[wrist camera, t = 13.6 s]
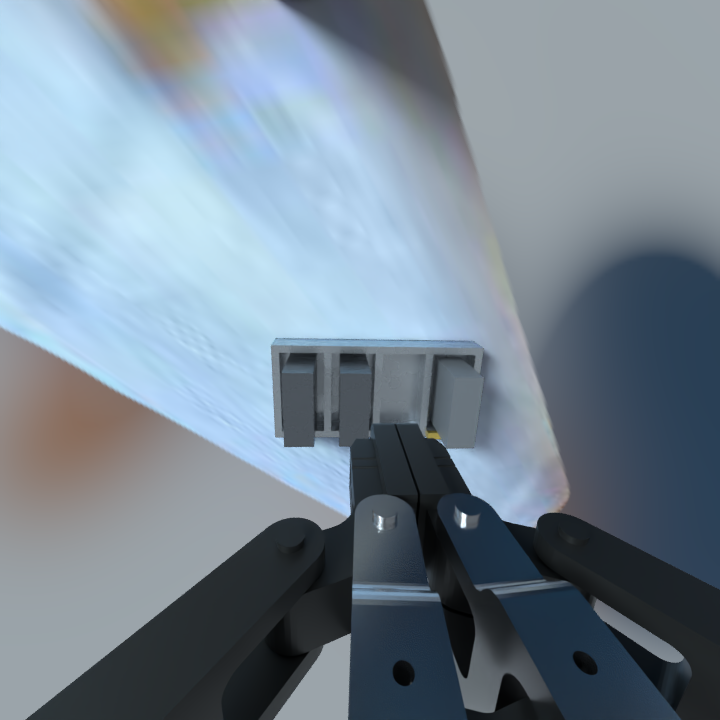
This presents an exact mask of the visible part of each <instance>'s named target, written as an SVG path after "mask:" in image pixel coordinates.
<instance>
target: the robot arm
mask: <svg viewBox="0 0 720 720" xmlns="http://www.w3.org/2000/svg"><path fill="white" fill-rule="evenodd" d="M349 490H350V507H351V515H350V516H349V517H348V518H347V519H346V520H345V521H344V522H342V523H341V524H339V525H337V526H335V527H332V528H329V529H325V530H321V528H320V527H319V526H318V525H317V524H316V523H314V522H312V521H310V520H308V519H304V518H287V519H283V520H281V521H278V522H276V523H274V524H272V525H271V526H269V527H268V528H266V529H265V530H264V531H263V532H261V533H260V534H259V535H258V536H256V537H255V538H254V539H252V540H251V541H250V542H249V543H247V544H246V545H245V546H244V547H242V548H241V549H240V550H239V551H237V552H236V553H235V554H234V555H232V556H231V557H230V558H229V559H227V560H226V561H225V562H224V563H222V564H221V565H220V566H219V567H217V568H216V569H215V570H213V571H212V572H211V573H210V574H209V575H207V576H206V577H205V578H203V579H202V580H201V581H200V582H198V583H197V584H196V585H195V586H193V587H192V588H191V589H189V590H188V591H187V592H186V593H185V594H184V595H182V596H181V597H180V598H178V599H177V600H176V601H174V602H173V603H172V604H171V605H169V606H168V607H167V608H166V609H164V610H163V611H162V612H161V613H159V614H158V615H157V616H155V617H154V618H153V619H152V620H150V621H149V622H148V623H147V624H146V625H144V626H143V627H142V628H141V629H139V630H138V631H137V632H135V633H134V634H133V635H132V636H130V637H129V638H128V639H127V640H125V641H124V642H123V643H121V644H120V645H119V646H118V647H116V648H115V649H114V650H113V651H111V652H110V653H109V654H108V655H106V656H105V657H104V658H103V659H101V660H100V661H99V662H98V663H96V664H95V665H94V666H93V667H91V668H90V669H89V670H88V671H86V672H85V673H84V674H82V675H81V676H80V677H79V678H78V679H76V680H75V681H74V682H72V683H71V684H70V685H69V686H67V687H66V688H65V689H64V690H62V691H61V692H60V693H58V694H57V695H56V696H55V697H54V698H52V699H51V700H50V701H48V702H47V703H46V704H45V705H43V706H42V707H41V708H40V709H38V710H37V711H36V712H35V713H33V714H32V715H31V716H30V717H28V718H27V719H26V720H273V719H274V718H275V716H276V715H277V714H278V712H279V711H280V709H281V708H282V707H283V705H284V704H285V702H286V701H287V699H288V698H289V697H290V696H291V694H292V693H293V691H294V690H295V689H296V687H297V686H298V684H299V683H300V682H301V680H302V679H303V678H304V676H305V675H306V673H307V672H308V671H309V669H310V668H311V666H312V665H313V664H314V662H315V661H316V660H317V658H318V656H319V655H320V653H321V651H322V648H323V645H325V644H327V643H329V642H331V641H334V640H336V639H338V638H341V637H343V636H345V635H347V634H350V633H351V644H350V677H349V708H348V720H720V590H719V589H717V588H715V587H713V586H711V585H709V584H707V583H705V582H703V581H701V580H699V579H697V578H695V577H694V576H692V575H690V574H688V573H686V572H683V571H682V570H680V569H678V568H676V567H674V566H672V565H670V564H668V563H666V562H664V561H662V560H660V559H658V558H656V557H654V556H652V555H650V554H648V553H646V552H644V551H642V550H640V549H638V548H636V547H634V546H632V545H630V544H628V543H626V542H624V541H623V540H620V539H619V538H617V537H615V536H613V535H611V534H609V533H607V532H605V531H603V530H601V529H599V528H597V527H595V526H593V525H591V524H589V523H587V522H585V521H583V520H581V519H579V518H576V517H574V516H571V515H567V514H563V513H547V514H544V515H542V516H541V517H540V518H539V519H538V522H537V526H536V528H532V527H527V526H523V525H518V524H514V523H509V522H506V521H503V520H501V518H500V517H499V515H498V514H497V513H496V511H495V510H494V509H493V508H492V507H491V506H490V505H489V504H488V503H487V502H485V501H484V500H482V499H480V498H478V497H476V496H473V495H472V494H471V493H470V491H469V489H468V487H467V486H466V484H465V482H464V480H463V478H462V477H461V475H460V473H459V471H458V469H457V468H456V467H455V464H454V462H453V461H452V459H450V455H449V453H448V452H447V450H446V448H445V446H443V445H442V444H441V443H439V442H438V441H437V440H436V439H434V438H424V436H423V434H422V432H421V430H420V428H419V426H418V424H417V423H395V424H394V423H372V424H371V431H370V439H356V440H355V441H354V443H353V444H352V446H351V447H350V483H349ZM427 578H428V579H427ZM596 599H599V600H600V601H602V602H604V603H605V604H607V605H608V606H610V607H611V608H613V609H615V610H616V611H618V612H619V613H621V614H622V615H624V616H626V617H627V618H629V619H630V620H632V621H633V622H635V623H637V624H638V625H640V626H641V627H643V628H645V629H646V630H648V631H649V632H651V633H652V634H654V635H656V636H657V637H659V638H660V639H662V640H664V641H665V642H667V643H669V644H670V645H671V646H673V647H674V648H675V649H676V650H678V651H679V652H680V653H681V654H682V655H683V656H684V659H683V661H681V662H679V663H671V662H667V661H665V660H662V659H660V658H659V657H657V656H655V655H654V654H652V653H651V652H649V651H647V650H646V649H645V648H643V647H642V646H640V645H639V644H637V643H636V642H634V641H633V640H631V639H630V638H628V637H627V636H625V635H624V634H622V633H621V632H619V631H618V630H616V629H615V628H613V627H612V626H610V625H609V624H607V623H606V622H604V621H603V620H602V619H601V618H600V617H599V615H598V614H597V613H596V612H595V610H594V606H595V602H596Z"/></svg>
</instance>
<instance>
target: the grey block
mask: <svg viewBox="0 0 720 720" xmlns="http://www.w3.org/2000/svg"><path fill="white" fill-rule="evenodd" d="M483 384H484V377H483V376H482V375H481V374H479V373H478V372H477V371H476V370H475V369H474V368H472V367H471V366H470V365H469V364H468V363H466V362H465V361H464V360H463V359H462V358H461V357H435V367H434V377H433V387H432V397H431V407H430V417H429V418H430V420H431V422H432V424H433V425H434V427H435V429H436V431H437V433H438V434H439V436H440V438H441V440H442V441H443V443H444V445H445V447H446V449H448V448H474V445H475V438H476V432H477V425H478V418H479V411H480V404H481V398H482V391H483Z"/></svg>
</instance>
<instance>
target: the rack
mask: <svg viewBox="0 0 720 720" xmlns="http://www.w3.org/2000/svg"><path fill="white" fill-rule="evenodd" d="M483 350H484V348H483V347H481V346H480V345H478V344H477V343H475V342H474V341H427V340H359V339H291V338H276V339H275V340H274V342H273V343H272V345H271V355H272V377H273V398H274V420H275V437H284V447H314V441H315V437H339V447H341V446H352V444H353V443H354V441H355V440H356V439H369V437H370V431H371V424H372V423H394V424H395V423H417V424H418V426H419V428H420V430H421V432H422V434H423V436H424V437H427V438H434V439H441V438H440V436H439V434H438V433H437V431H436V429H435V427H434V425H433V424H432V422H431V420H430V418H429V417H430V407H431V397H432V387H433V377H434V367H435V357H461V358H462V359H463V360H464V361H465V362H466V363H468V364H469V365H470V366H471V367H472V368H474V369H475V370H476V371H477V372H478V373H479V374H480V371H481V364H482V357H483Z"/></svg>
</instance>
